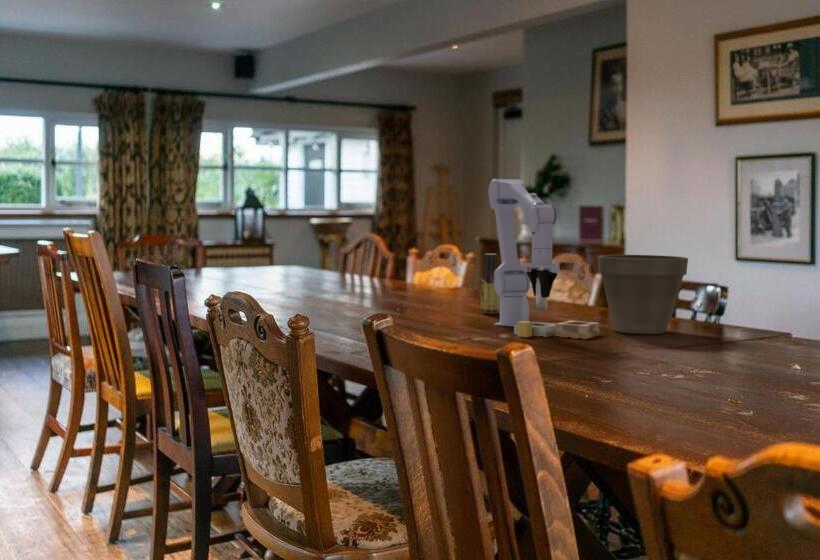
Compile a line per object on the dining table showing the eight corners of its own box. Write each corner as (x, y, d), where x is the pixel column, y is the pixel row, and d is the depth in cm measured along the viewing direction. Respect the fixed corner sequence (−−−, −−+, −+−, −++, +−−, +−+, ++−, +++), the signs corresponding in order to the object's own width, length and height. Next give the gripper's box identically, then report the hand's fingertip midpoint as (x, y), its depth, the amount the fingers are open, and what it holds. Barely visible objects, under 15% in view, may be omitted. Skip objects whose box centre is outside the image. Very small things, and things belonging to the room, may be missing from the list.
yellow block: (522, 335, 264) (522, 320, 264) (532, 336, 263) (532, 321, 262) (517, 336, 262) (517, 322, 261) (526, 337, 260) (527, 322, 260)
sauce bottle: (483, 312, 319) (483, 253, 318) (501, 312, 317) (502, 253, 316) (478, 314, 313) (479, 254, 311) (497, 315, 311) (497, 254, 310)
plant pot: (653, 324, 288) (654, 252, 286) (704, 334, 265) (706, 257, 263) (580, 327, 280) (581, 254, 278) (627, 339, 257) (628, 259, 255)
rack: (569, 332, 269) (569, 320, 269) (599, 335, 264) (599, 322, 264) (555, 336, 262) (555, 323, 262) (585, 339, 257) (585, 326, 256)
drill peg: (538, 308, 269) (539, 277, 268) (549, 309, 267) (549, 277, 266) (533, 309, 266) (533, 277, 265) (543, 310, 264) (544, 278, 264)
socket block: (530, 330, 275) (530, 321, 274) (562, 332, 269) (562, 324, 269) (514, 334, 266) (514, 325, 266) (546, 337, 261) (546, 328, 260)
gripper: (516, 247, 270) (515, 295, 271) (544, 249, 257) (543, 299, 258) (537, 246, 273) (536, 294, 274) (566, 249, 260) (565, 298, 261)
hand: (541, 296), depth 266 cm, fingers closed on drill peg, 3 cm apart
